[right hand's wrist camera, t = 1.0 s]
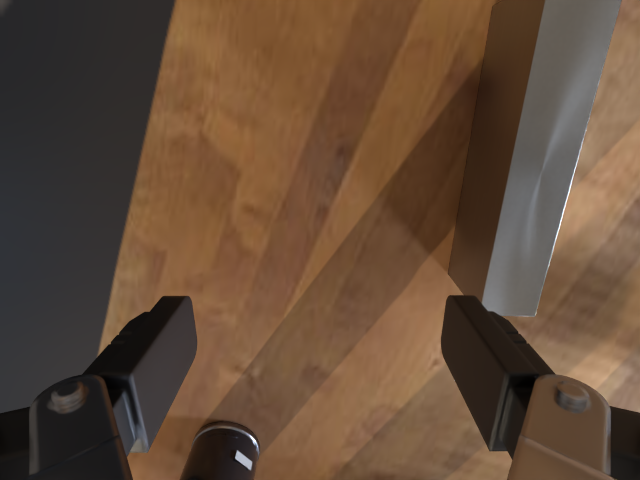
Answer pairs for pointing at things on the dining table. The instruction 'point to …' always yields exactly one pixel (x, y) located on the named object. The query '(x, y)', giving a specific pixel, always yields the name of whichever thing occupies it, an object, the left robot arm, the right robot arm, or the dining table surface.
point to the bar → (526, 145)
